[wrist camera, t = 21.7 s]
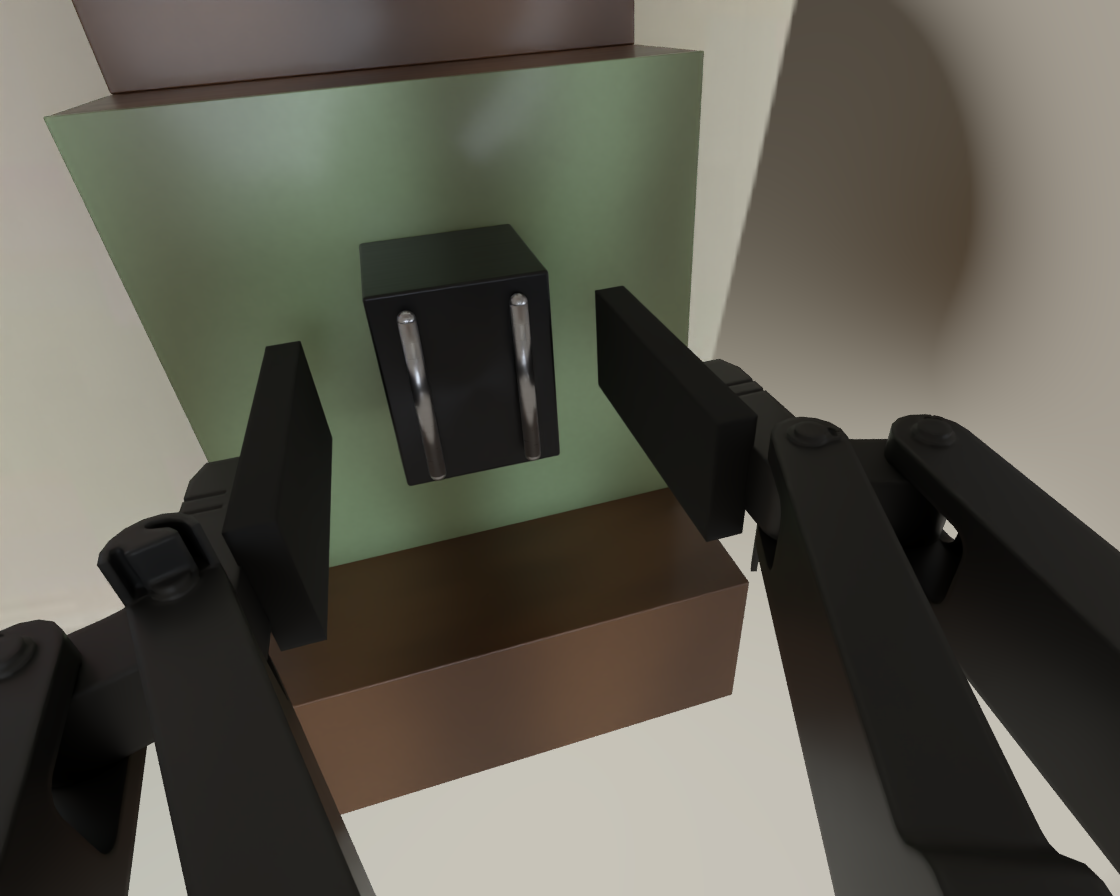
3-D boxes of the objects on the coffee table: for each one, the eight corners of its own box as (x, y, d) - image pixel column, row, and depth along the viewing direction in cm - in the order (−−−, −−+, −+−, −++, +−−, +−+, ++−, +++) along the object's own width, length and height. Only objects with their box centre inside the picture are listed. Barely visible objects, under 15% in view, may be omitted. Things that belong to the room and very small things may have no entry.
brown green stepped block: (598, -200, 19) (911, -467, 8) (613, 486, 34) (732, 695, 23) (32, -188, 16) (-544, -567, 6) (322, 554, 31) (311, 824, 21)
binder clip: (510, 222, 17) (555, 277, 13) (526, 385, 20) (566, 467, 16) (358, 242, 16) (361, 307, 13) (397, 409, 19) (409, 500, 16)
